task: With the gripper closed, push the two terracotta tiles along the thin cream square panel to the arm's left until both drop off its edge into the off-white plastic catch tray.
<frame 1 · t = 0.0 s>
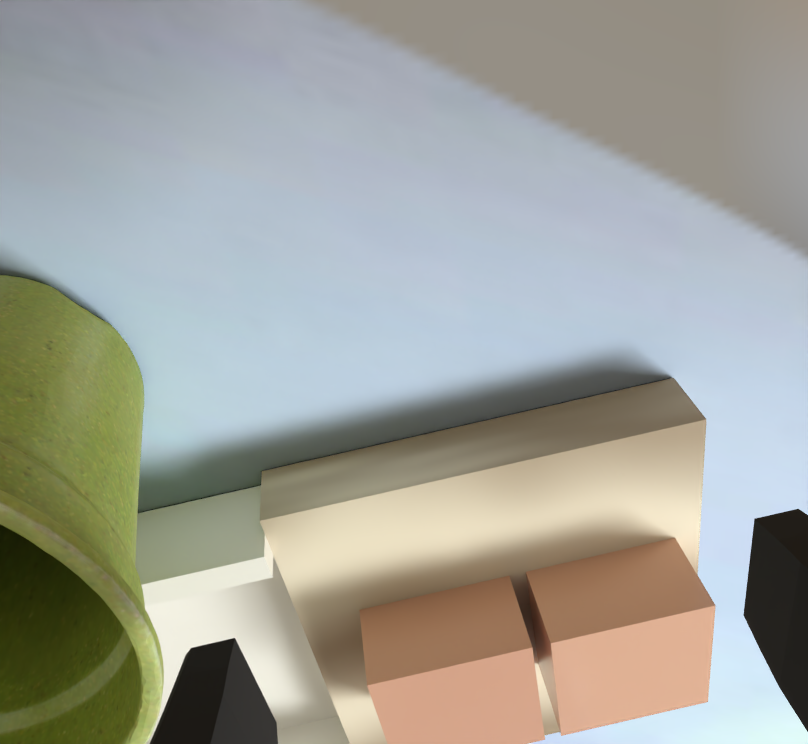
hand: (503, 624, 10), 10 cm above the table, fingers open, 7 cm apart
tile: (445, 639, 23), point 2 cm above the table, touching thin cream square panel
tray: (125, 660, 25), on the table
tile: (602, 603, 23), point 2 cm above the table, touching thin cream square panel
plant pot: (17, 377, 19), on the table
thin cream square panel: (493, 576, 25), on the table
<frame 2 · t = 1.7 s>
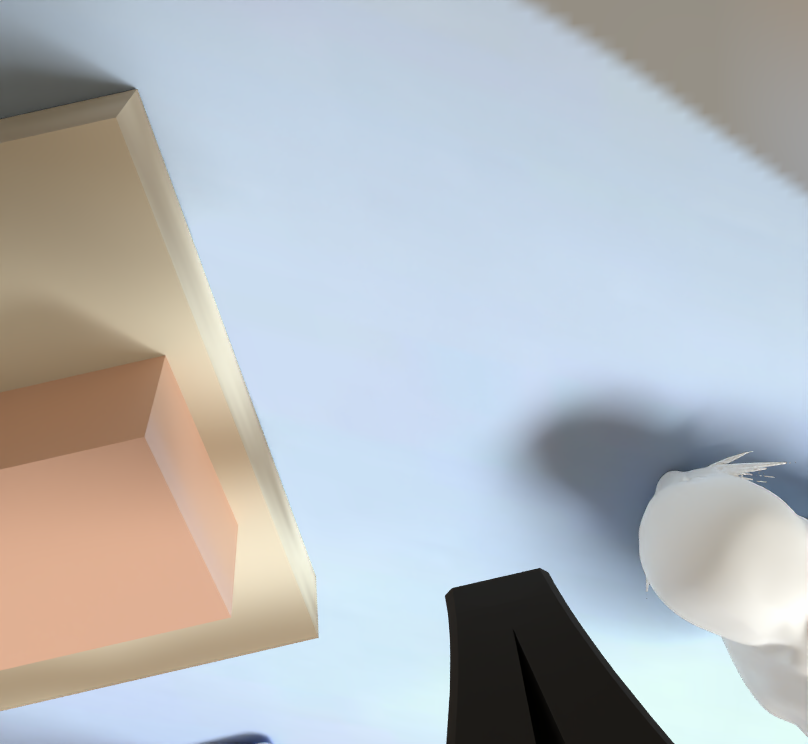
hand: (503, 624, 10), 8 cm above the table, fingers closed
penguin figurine: (761, 523, 22), on the table
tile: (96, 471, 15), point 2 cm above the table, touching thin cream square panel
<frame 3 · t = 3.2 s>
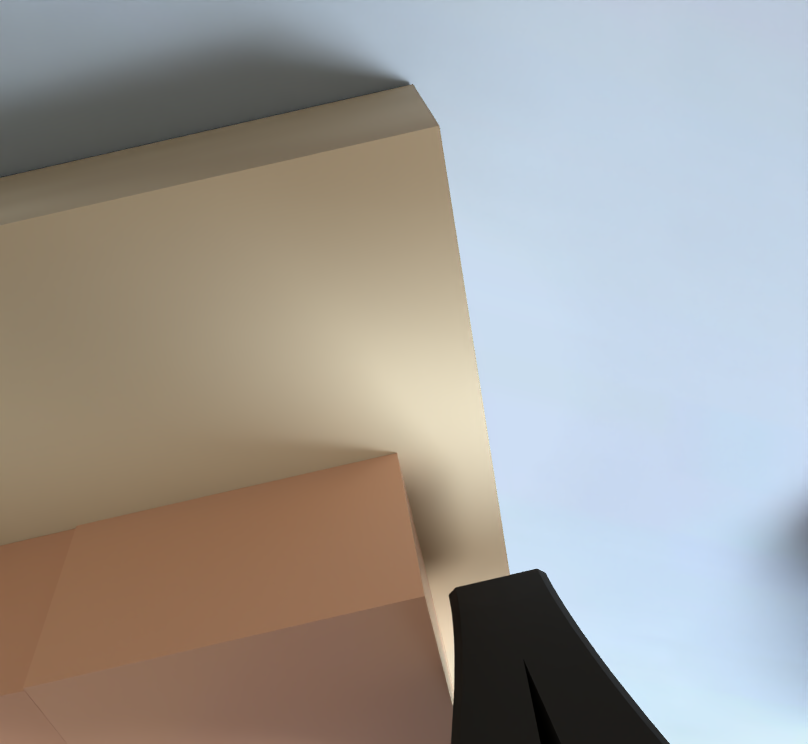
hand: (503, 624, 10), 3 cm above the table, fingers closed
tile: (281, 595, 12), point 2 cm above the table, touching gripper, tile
thin cream square panel: (145, 538, 13), on the table
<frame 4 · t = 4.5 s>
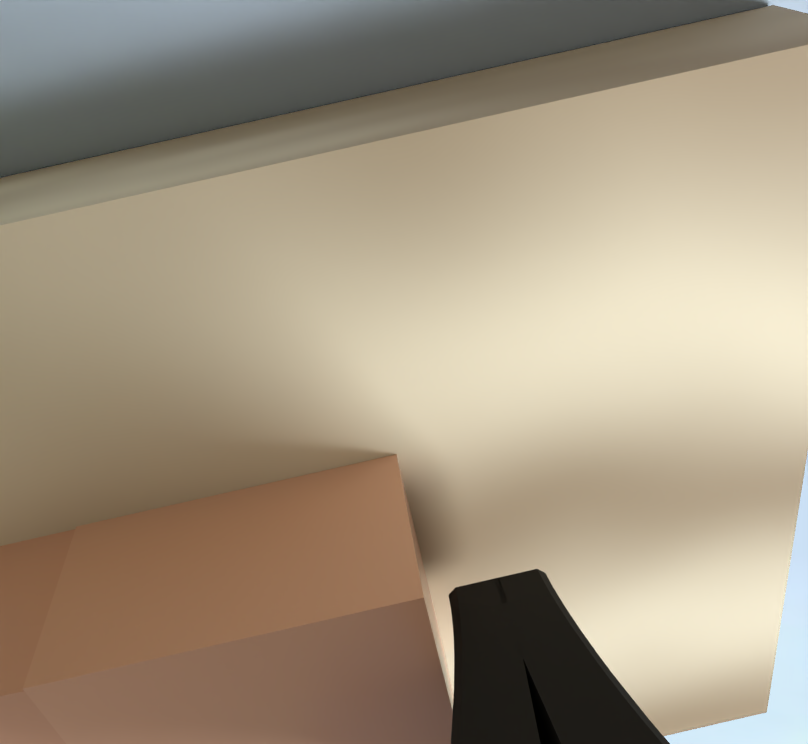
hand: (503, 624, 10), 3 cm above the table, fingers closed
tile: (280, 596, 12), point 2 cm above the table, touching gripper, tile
thin cream square panel: (408, 478, 13), on the table
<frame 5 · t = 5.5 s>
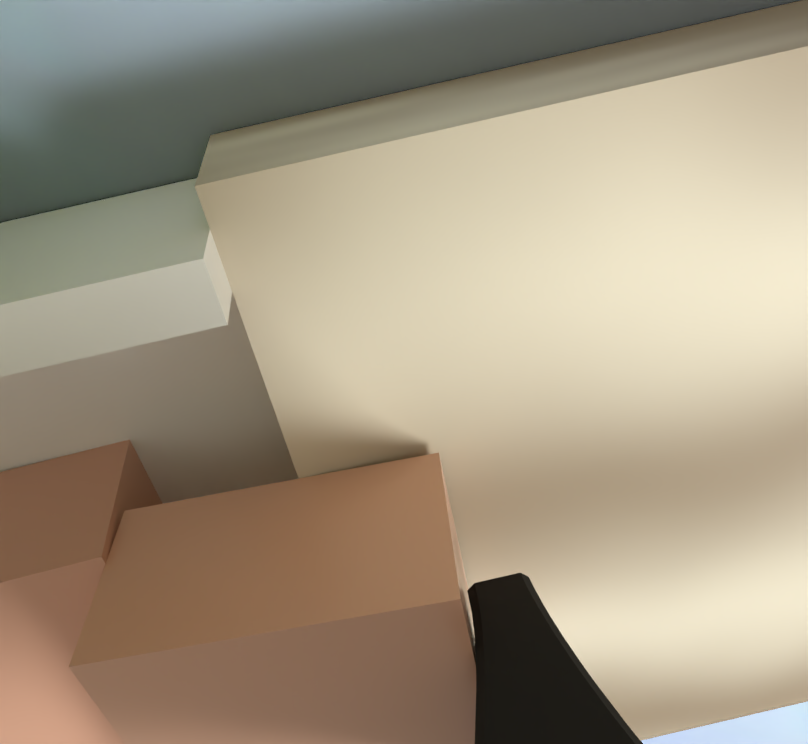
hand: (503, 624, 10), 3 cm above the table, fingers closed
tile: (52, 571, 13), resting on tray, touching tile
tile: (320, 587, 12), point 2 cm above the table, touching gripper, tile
thin cream square panel: (658, 420, 13), on the table
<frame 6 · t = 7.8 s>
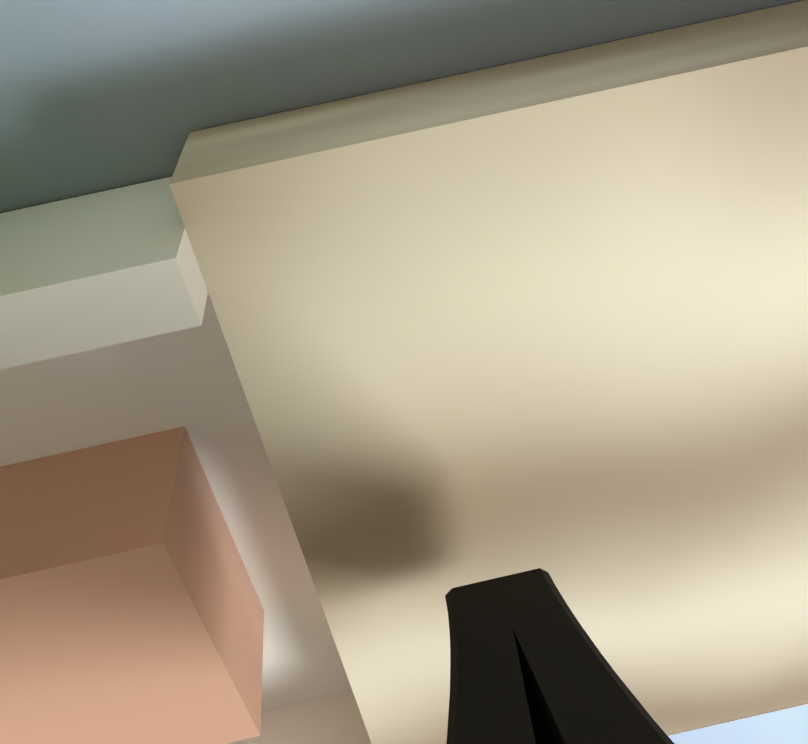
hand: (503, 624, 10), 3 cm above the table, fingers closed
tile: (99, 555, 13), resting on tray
thin cream square panel: (643, 425, 13), on the table
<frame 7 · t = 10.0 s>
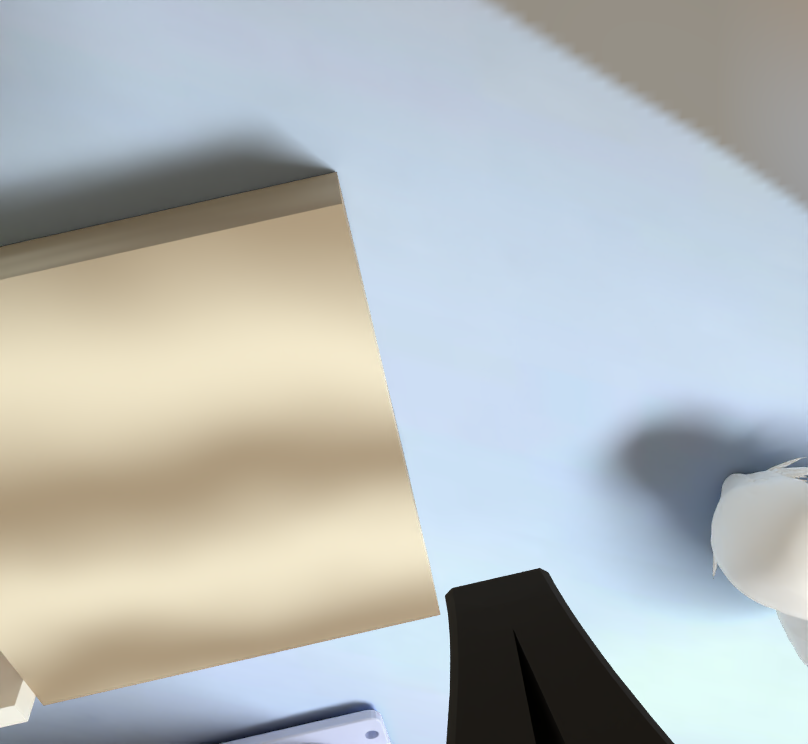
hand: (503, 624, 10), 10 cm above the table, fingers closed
thin cream square panel: (174, 451, 20), on the table
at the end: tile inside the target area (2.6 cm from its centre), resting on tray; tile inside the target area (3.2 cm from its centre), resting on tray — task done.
